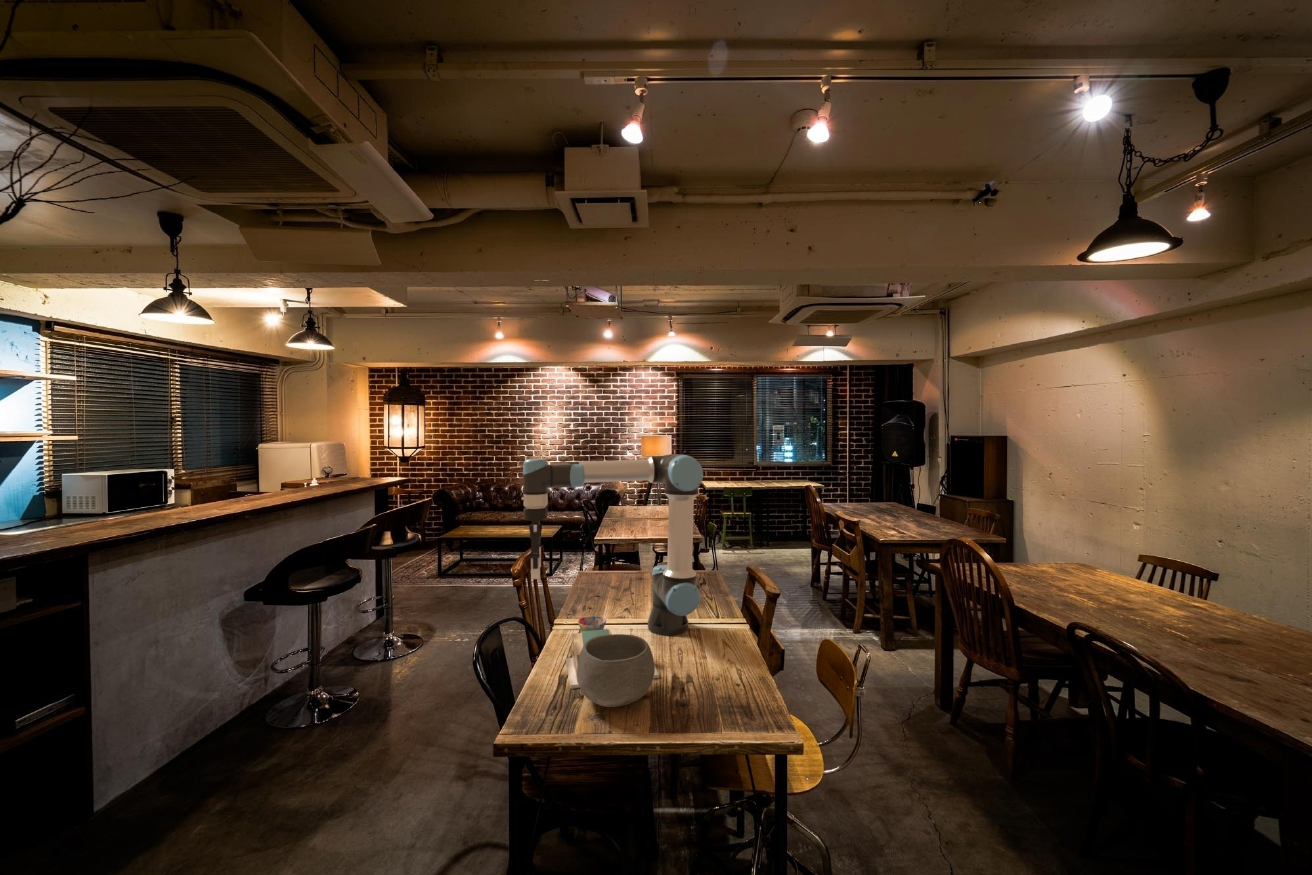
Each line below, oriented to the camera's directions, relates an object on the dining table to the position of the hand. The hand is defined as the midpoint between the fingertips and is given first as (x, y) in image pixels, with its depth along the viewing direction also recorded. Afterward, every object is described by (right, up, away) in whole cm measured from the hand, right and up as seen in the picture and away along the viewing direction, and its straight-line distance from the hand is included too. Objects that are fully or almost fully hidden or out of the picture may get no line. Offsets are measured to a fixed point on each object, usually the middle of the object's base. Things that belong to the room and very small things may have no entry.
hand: (536, 572), depth 167 cm
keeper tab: (+21, -17, -14) cm, 30 cm away
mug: (+18, -28, +5) cm, 33 cm away
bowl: (+28, -28, -26) cm, 47 cm away
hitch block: (+25, -27, -8) cm, 38 cm away
